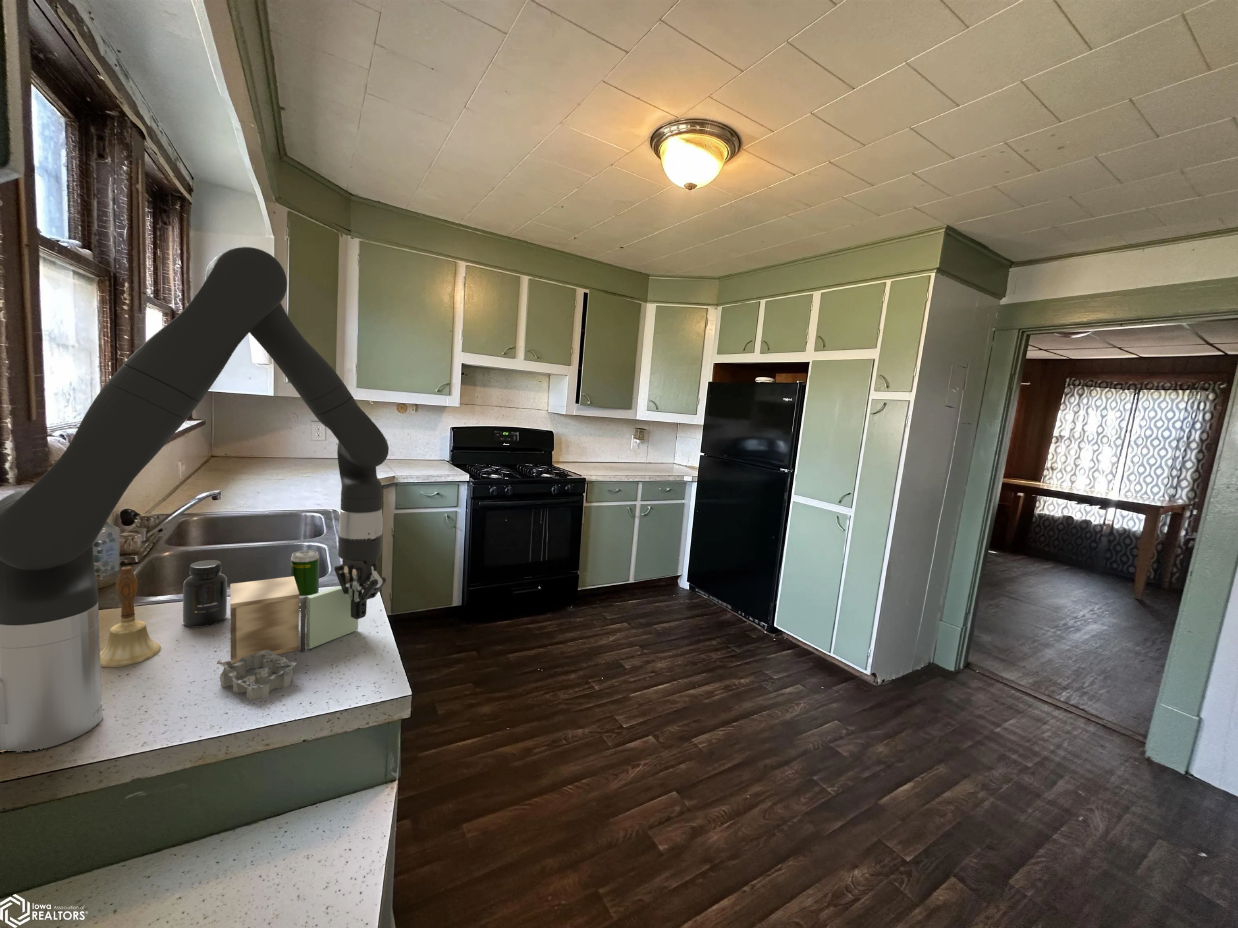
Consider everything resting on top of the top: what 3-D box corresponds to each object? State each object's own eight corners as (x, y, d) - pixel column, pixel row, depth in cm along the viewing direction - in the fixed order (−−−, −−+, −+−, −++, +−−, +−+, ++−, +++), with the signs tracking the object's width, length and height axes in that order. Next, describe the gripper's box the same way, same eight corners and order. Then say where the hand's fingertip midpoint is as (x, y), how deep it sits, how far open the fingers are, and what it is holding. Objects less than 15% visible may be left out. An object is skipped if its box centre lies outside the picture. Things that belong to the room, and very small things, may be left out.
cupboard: (230, 666, 85) (230, 605, 84) (230, 639, 94) (230, 583, 93) (305, 651, 92) (306, 595, 91) (299, 627, 101) (299, 575, 99)
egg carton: (213, 684, 81) (212, 660, 80) (263, 664, 87) (263, 642, 87) (250, 705, 76) (250, 680, 76) (300, 682, 83) (300, 660, 82)
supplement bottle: (203, 630, 96) (202, 571, 95) (173, 625, 97) (172, 566, 96) (235, 616, 103) (235, 560, 101) (207, 611, 104) (207, 556, 102)
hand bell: (173, 648, 89) (171, 563, 87) (119, 671, 81) (116, 578, 79) (136, 640, 91) (134, 556, 89) (80, 662, 83) (76, 571, 81)
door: (305, 646, 93) (306, 596, 92) (354, 627, 102) (355, 581, 101) (312, 650, 92) (313, 599, 91) (361, 630, 101) (362, 584, 100)
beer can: (320, 607, 110) (321, 555, 109) (291, 612, 107) (292, 558, 105) (316, 598, 114) (317, 548, 113) (288, 603, 111) (289, 551, 109)
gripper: (320, 528, 94) (319, 614, 97) (364, 543, 88) (362, 634, 90) (357, 521, 101) (355, 602, 103) (400, 535, 95) (397, 620, 97)
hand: (358, 617), depth 97 cm, fingers closed
